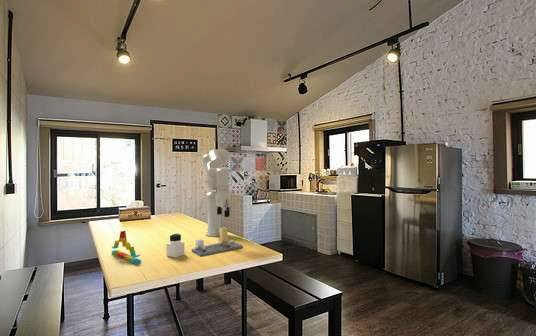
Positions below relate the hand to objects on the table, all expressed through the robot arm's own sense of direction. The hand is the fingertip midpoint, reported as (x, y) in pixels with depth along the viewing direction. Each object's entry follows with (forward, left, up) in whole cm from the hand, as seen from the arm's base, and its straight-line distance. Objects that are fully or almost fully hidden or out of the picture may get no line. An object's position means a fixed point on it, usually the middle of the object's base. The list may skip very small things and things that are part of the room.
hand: (223, 215), depth 189 cm
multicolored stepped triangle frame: (-14, -54, -20) cm, 59 cm away
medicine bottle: (-1, -30, -20) cm, 36 cm away
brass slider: (+3, 0, -17) cm, 18 cm away
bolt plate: (+4, -6, -19) cm, 21 cm away
